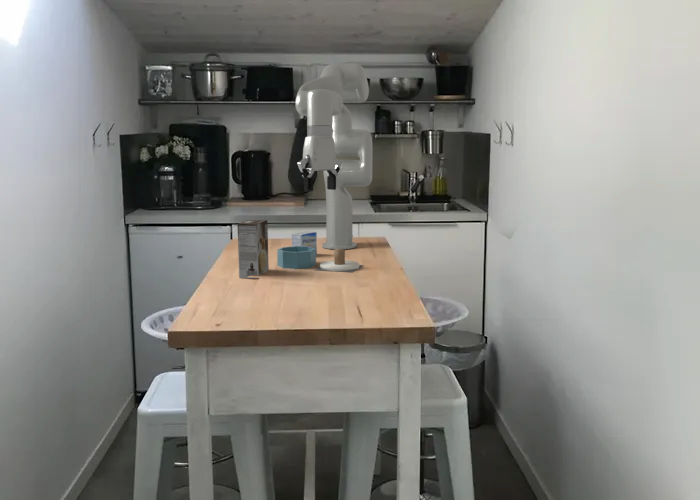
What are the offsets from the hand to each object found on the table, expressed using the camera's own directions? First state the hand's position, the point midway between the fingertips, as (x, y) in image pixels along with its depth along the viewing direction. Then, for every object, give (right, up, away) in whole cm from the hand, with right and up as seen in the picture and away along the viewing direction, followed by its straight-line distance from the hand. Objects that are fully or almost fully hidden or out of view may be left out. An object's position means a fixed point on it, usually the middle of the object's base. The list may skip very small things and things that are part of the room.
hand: (320, 190), depth 216 cm
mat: (+6, -24, +4) cm, 25 cm away
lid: (+6, -23, +4) cm, 24 cm away
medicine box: (-6, -21, +26) cm, 34 cm away
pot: (-8, -24, +8) cm, 26 cm away
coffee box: (-19, -26, -2) cm, 32 cm away
